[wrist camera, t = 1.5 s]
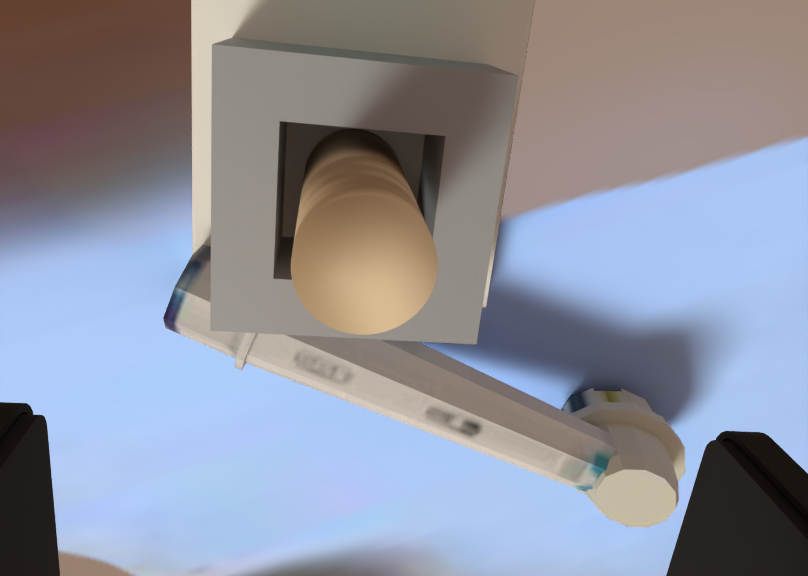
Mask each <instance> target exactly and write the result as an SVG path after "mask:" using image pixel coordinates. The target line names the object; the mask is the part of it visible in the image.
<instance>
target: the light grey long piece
mask: <svg viewBox="0 0 808 576" xmlns="http://www.w3.org/2000/svg"><path fill="white" fill-rule="evenodd" d="M210 306H211V247H209V246H207V245H204V244H203V245H202V246H201V247H200V248H199V249H198V250H197V251H196V252H195V253H194V254H193V255H192V257H191V259H190V260H189V262H188V264H187V266H186V268H185V270H184V271H183V273H182V275H181V277H180V279H179V280H178V282H177V284H176V286H175V288H174V291H173V294H172V296H171V299H170V302H169V304H168V307H167V310H166V312H165V315H164V324H165V328H167V329H169V330H172V331H174V332H176V333H178V334H181V335H183V336H185V337H188V338H190V339H192V340H195V341H197V342H199V343H201V344H204V345H206V346H208V347H211V348H213V349H215V350H218V351H220V352H222V353H224V354H227V355H229V356H231V357H234V358H236V362H235V367H236V368H238V369H240V370H242V369H243V367H244V365H245V363H248V364H250V365H253V366H256V367H258V368H261V369H264V370H266V371H269V372H271V373H274V374H277V375H279V376H282V377H285V378H287V379H290V380H292V381H295V382H298V383H300V384H303V385H306V386H308V387H311V388H313V389H316V390H319V391H321V392H324V393H327V394H329V395H332V396H335V397H337V398H340V399H342V400H345V401H348V402H350V403H353V404H356V405H358V406H361V407H363V408H366V409H369V410H371V411H374V412H377V413H379V414H382V415H384V416H387V417H390V418H392V419H395V420H398V421H400V422H403V423H405V424H408V425H411V426H413V427H416V428H419V429H421V430H424V431H426V432H429V433H432V434H434V435H437V436H440V437H442V438H445V439H447V440H450V441H453V442H455V443H458V444H461V445H463V446H466V447H468V448H471V449H474V450H476V451H479V452H482V453H484V454H487V455H489V456H492V457H495V458H497V459H500V460H503V461H505V462H508V463H511V464H513V465H516V466H518V467H521V468H524V469H526V470H529V471H532V472H534V473H537V474H539V475H542V476H545V477H547V478H550V479H553V480H555V481H558V482H560V483H563V484H566V485H568V486H571V487H574V488H576V489H577V490H578V491H580V492H582V493H584V494H587V496H588V497H589V498H590V500H591V501H592V502H593V503H594V504H595V505H596V507H597V508H598V509H599V510H600V511H601V512H602V513H603V514H604V515H605V516H606V517H608V518H609V519H611V520H613V521H616V522H618V523H620V524H623V525H625V526H627V527H650V526H653V525H655V524H658V523H661V522H663V521H666V520H667V518H668V517H669V516H670V515H671V513H672V512H673V511H674V510H675V508H676V506H677V503H678V500H679V496H678V481H679V480H680V479H681V477H682V476H683V475H684V473H685V447H684V446H683V444H682V442H681V440H680V438H679V437H678V436H677V435H676V433H675V432H674V431H673V429H672V428H671V427H670V426H669V424H668V423H667V422H666V420H665V419H664V418H663V417H662V416H660V415H658V414H656V413H655V412H654V411H653V409H652V408H651V407H650V405H649V404H648V403H647V401H646V399H644V398H642V397H639V396H637V395H635V394H633V393H631V392H629V391H626V390H624V389H622V388H621V389H620V390H619V391H594V389H593V388H590V389H588V390H586V391H584V392H581V393H579V394H577V395H574V396H572V397H570V398H569V399H568V401H567V402H566V404H565V405H564V407H563V408H562V410H560V409H558V408H556V407H554V406H551V405H549V404H547V403H545V402H543V401H541V400H539V399H537V398H535V397H533V396H530V395H528V394H526V393H524V392H522V391H520V390H518V389H516V388H514V387H512V386H509V385H507V384H505V383H503V382H501V381H499V380H497V379H495V378H493V377H490V376H488V375H486V374H484V373H482V372H480V371H478V370H476V369H474V368H472V367H469V366H467V365H465V364H463V363H461V362H459V361H457V360H455V359H453V358H451V357H448V356H446V355H444V354H442V353H440V352H438V351H436V350H434V349H432V348H429V347H427V346H425V345H423V344H421V343H419V342H417V341H398V340H379V339H359V338H340V337H320V336H301V335H282V334H262V333H243V332H223V331H210Z"/></svg>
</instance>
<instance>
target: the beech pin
mask: <svg viewBox="0 0 808 576" xmlns="http://www.w3.org/2000/svg"><path fill="white" fill-rule="evenodd" d="M437 272H438V258H437V252H436V247H435V244H434V241H433V239H432V236H431V234H430V232H429V229H428V227H427V225H426V223H425V220H424V218H423V216H422V213H421V211H420V209H419V207H418V204H417V202H416V200H415V198H414V195H413V193H412V191H411V188H410V186H409V184H408V182H407V179H406V177H405V175H404V172H403V170H402V168H401V166H400V163H399V161H398V159H397V157H396V155H395V153H394V151H393V150H392V148H391V147H390V146H389V145H388V144H387V142H386V141H384V140H383V139H382V138H381V137H379V136H377V135H376V134H374V133H372V132H369V131H366V130H362V129H343V130H339V131H336V132H333V133H331V134H329V135H327V136H326V137H324V138H323V139H322V140H320V141H319V142H318V143H317V144H316V146H315V147H314V148H313V150H312V151H311V153H310V155H309V157H308V159H307V162H306V166H305V172H304V178H303V185H302V191H301V198H300V204H299V211H298V217H297V224H296V230H295V237H294V243H293V250H292V257H291V276H292V282H293V285H294V288H295V291H296V293H297V295H298V297H299V299H300V301H301V302H302V304H303V305H304V307H305V308H306V309H307V310H308V311H309V313H311V314H312V315H313V316H314V317H315V318H316V319H317V320H319V321H320V322H322V323H323V324H325V325H327V326H329V327H331V328H333V329H335V330H338V331H341V332H345V333H349V334H358V335H369V334H377V333H381V332H385V331H388V330H391V329H394V328H396V327H398V326H400V325H402V324H404V323H405V322H407V321H408V320H409V319H411V318H412V317H413V316H414V315H415V314H417V313H418V312H419V310H420V309H421V308H422V307H423V306H424V304H425V303H426V302H427V300H428V299H429V297H430V295H431V293H432V291H433V288H434V285H435V282H436V278H437Z"/></svg>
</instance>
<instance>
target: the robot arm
mask: <svg viewBox="0 0 808 576" xmlns="http://www.w3.org/2000/svg"><path fill="white" fill-rule="evenodd" d="M0 576H60V570H59V559H58V547H57V535H56V524H55V512H54V501H53V489H52V478H51V466H50V455H49V443H48V432H47V423H46V420H45V417H44V416H42V415H33V411H32V409H31V407H30V406H29V405H28V404H27V403H3V402H0ZM666 576H808V474H807V473H806V472H805V471H804V470H803V469H802V468H801V467H800V466H799V465H798V464H797V463H796V462H795V461H794V460H793V459H792V458H791V457H790V456H789V455H788V454H787V453H786V452H785V451H784V450H783V449H782V448H781V447H780V446H779V445H778V444H776V443H775V442H774V441H773V440H772V439H771V438H770V437H769V436H768V435H766V434H765V433H760V432H737V431H725V432H722V433H720V435H719V436H718V437H717V438H716V440H713V441H711V442H709V443H708V444H707V446H706V448H705V451H704V454H703V458H702V461H701V464H700V467H699V471H698V474H697V477H696V480H695V484H694V487H693V490H692V493H691V497H690V500H689V503H688V507H687V510H686V513H685V516H684V520H683V523H682V526H681V529H680V533H679V536H678V539H677V543H676V546H675V549H674V552H673V556H672V559H671V562H670V565H669V569H668V572H667V575H666Z"/></svg>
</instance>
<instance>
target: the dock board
mask: <svg viewBox="0 0 808 576" xmlns="http://www.w3.org/2000/svg"><path fill="white" fill-rule="evenodd" d="M534 2H535V0H191V3H192V209H193V254H194V253H195V252H196V251H197V250H198V249H199V248H200V247H201V246H202V245H203V244H204V245H207V246H209V247H211V306H210V331H223V332H243V333H262V334H282V335H301V336H320V337H340V338H359V339H379V340H398V341H417V342H437V343H456V344H475V345H477V338H478V332H479V325H480V319H481V313H482V307H486V304H487V298H488V292H489V285H490V279H491V273H492V266H493V260H494V254H495V248H496V241H497V235H498V229H499V222H500V216H501V210H502V203H503V197H504V191H505V184H506V178H507V172H508V166H509V159H510V153H511V147H512V140H513V134H514V128H515V121H516V115H517V109H518V103H519V96H520V90H521V84H522V77H523V71H524V65H525V59H526V52H527V46H528V39H529V33H530V27H531V21H532V14H533V8H534ZM343 129H362V130H366V131H369V132H372V133H374V134H376V135H377V136H379V137H381V138H382V139H383V140H384V141H386V142H387V144H388V145H389V146H390V147H391V148H392V150H393V151H394V153H395V155H396V157H397V159H398V161H399V163H400V166H401V168H402V170H403V172H404V175H405V177H406V179H407V182H408V184H409V186H410V188H411V191H412V193H413V195H414V198H415V200H416V202H417V204H418V207H419V209H420V211H421V213H422V216H423V218H424V220H425V223H426V225H427V227H428V229H429V232H430V234H431V236H432V239H433V241H434V244H435V247H436V252H437V258H438V272H437V278H436V282H435V285H434V288H433V291H432V293H431V295H430V297H429V299H428V300H427V302H426V303H425V304H424V306H423V307H422V308H421V309H420V310H419V312H418V313H417V314H415V315H414V316H413V317H412V318H411V319H409V320H408V321H407V322H405V323H404V324H402V325H400V326H398V327H396V328H394V329H391V330H388V331H385V332H381V333H377V334H369V335H358V334H349V333H345V332H341V331H338V330H335V329H333V328H331V327H329V326H327V325H325V324H323V323H322V322H320V321H319V320H317V319H316V318H315V317H314V316H313V315H312V314H311V313H309V311H308V310H307V309H306V308H305V307H304V305H303V304H302V302H301V301H300V299H299V297H298V295H297V293H296V291H295V288H294V285H293V282H292V276H291V257H292V250H293V243H294V237H295V230H296V224H297V217H298V211H299V204H300V198H301V191H302V185H303V178H304V172H305V166H306V162H307V159H308V157H309V155H310V153H311V151H312V150H313V148H314V147H315V146H316V144H317V143H318V142H319V141H320V140H322V139H323V138H324V137H326V136H327V135H329V134H331V133H333V132H336V131H339V130H343Z"/></svg>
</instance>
